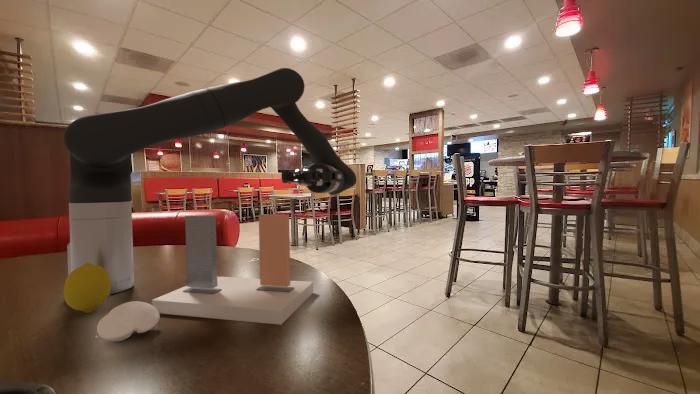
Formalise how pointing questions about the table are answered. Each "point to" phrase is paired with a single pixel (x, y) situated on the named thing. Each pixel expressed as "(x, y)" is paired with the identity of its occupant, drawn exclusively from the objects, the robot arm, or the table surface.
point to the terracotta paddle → (274, 249)
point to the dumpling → (127, 320)
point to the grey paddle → (201, 251)
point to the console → (237, 300)
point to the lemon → (87, 287)
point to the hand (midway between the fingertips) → (297, 175)
